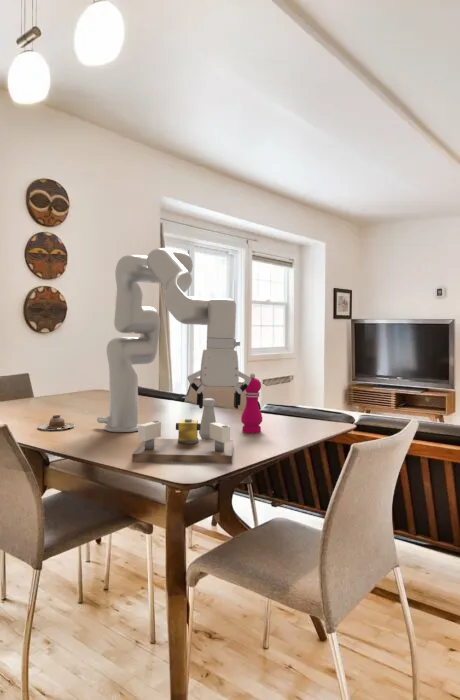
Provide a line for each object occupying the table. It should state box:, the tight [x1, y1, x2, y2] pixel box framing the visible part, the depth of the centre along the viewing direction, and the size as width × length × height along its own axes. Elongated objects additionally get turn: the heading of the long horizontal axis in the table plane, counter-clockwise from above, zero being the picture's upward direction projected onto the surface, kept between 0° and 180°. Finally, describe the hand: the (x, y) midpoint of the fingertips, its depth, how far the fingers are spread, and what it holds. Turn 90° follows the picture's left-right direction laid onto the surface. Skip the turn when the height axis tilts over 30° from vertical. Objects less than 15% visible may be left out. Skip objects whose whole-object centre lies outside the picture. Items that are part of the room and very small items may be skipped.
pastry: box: [37, 414, 76, 431], centre depth 173 cm, size 12×12×5 cm
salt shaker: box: [198, 397, 217, 440], centre depth 158 cm, size 6×6×13 cm
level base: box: [131, 418, 234, 464], centre depth 140 cm, size 26×19×9 cm
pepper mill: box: [241, 373, 263, 434], centre depth 171 cm, size 7×7×20 cm
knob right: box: [210, 421, 231, 451], centre depth 136 cm, size 7×3×7 cm, turn 30°
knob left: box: [137, 420, 162, 450], centre depth 136 cm, size 7×3×7 cm, turn 153°
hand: (218, 407), depth 136 cm, fingers open, 9 cm apart
